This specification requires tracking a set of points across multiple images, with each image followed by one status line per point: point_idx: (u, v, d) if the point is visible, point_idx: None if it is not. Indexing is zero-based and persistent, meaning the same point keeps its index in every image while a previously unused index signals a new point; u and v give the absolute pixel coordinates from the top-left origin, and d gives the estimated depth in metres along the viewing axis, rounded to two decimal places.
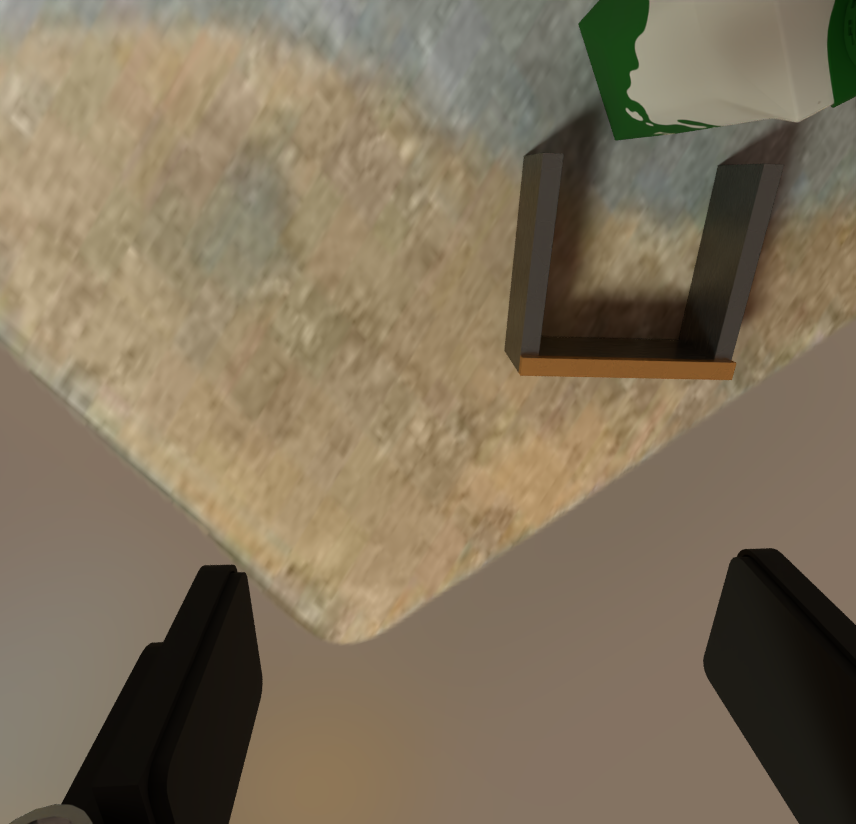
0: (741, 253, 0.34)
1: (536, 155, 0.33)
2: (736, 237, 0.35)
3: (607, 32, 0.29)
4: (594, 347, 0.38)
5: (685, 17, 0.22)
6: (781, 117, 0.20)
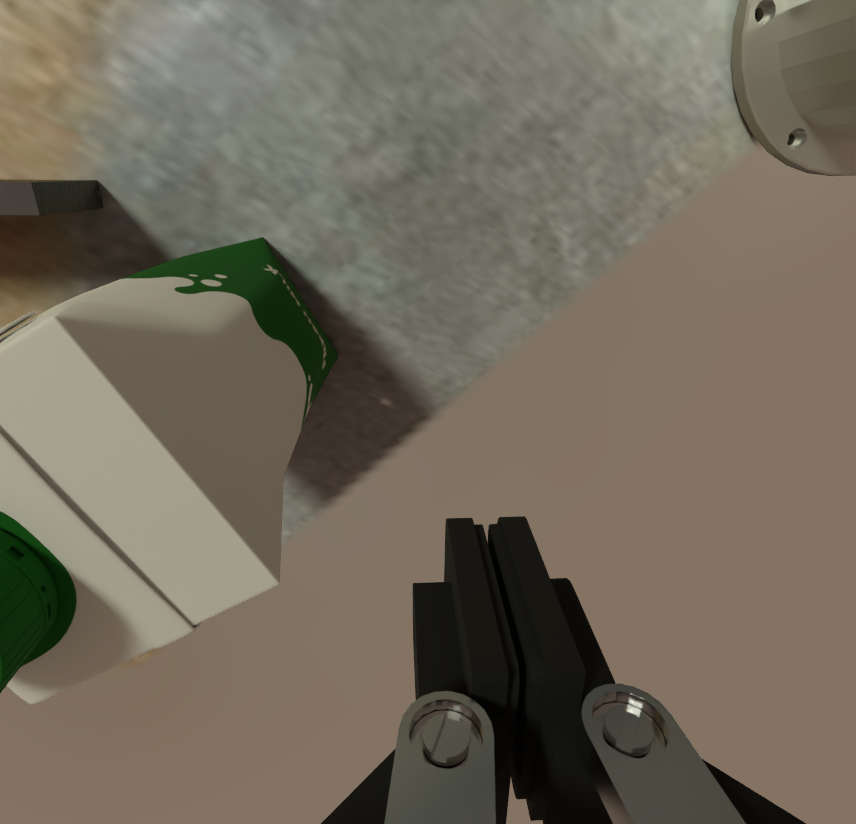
0: None
1: (52, 181, 0.22)
2: None
3: (197, 256, 0.22)
4: None
5: None
6: None
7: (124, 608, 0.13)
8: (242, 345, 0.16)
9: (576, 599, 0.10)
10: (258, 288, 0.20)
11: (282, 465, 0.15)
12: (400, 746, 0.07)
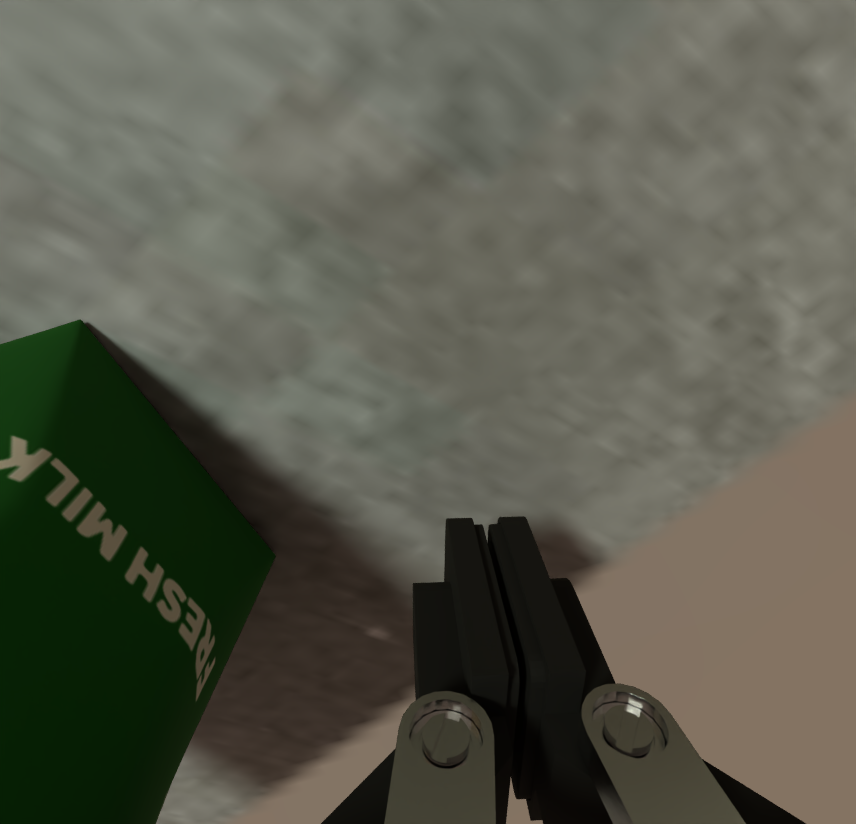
0: None
1: None
2: None
3: None
4: None
5: None
6: None
7: None
8: None
9: (576, 599, 0.10)
10: None
11: None
12: (400, 746, 0.07)
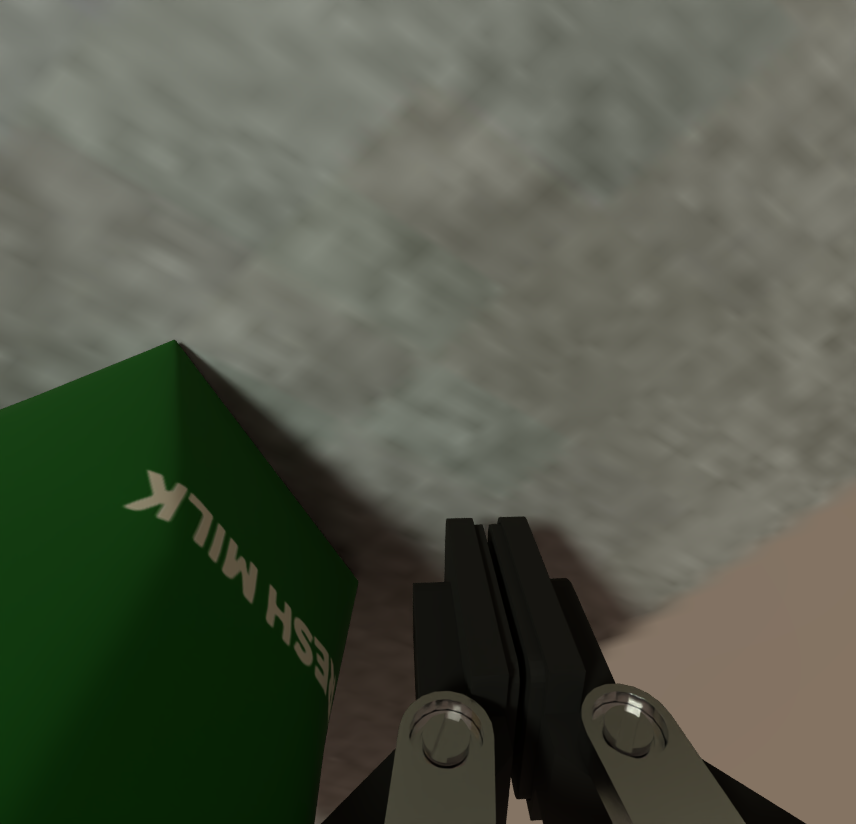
0: None
1: None
2: None
3: None
4: None
5: None
6: None
7: None
8: None
9: (576, 599, 0.10)
10: (15, 751, 0.04)
11: None
12: (400, 746, 0.07)
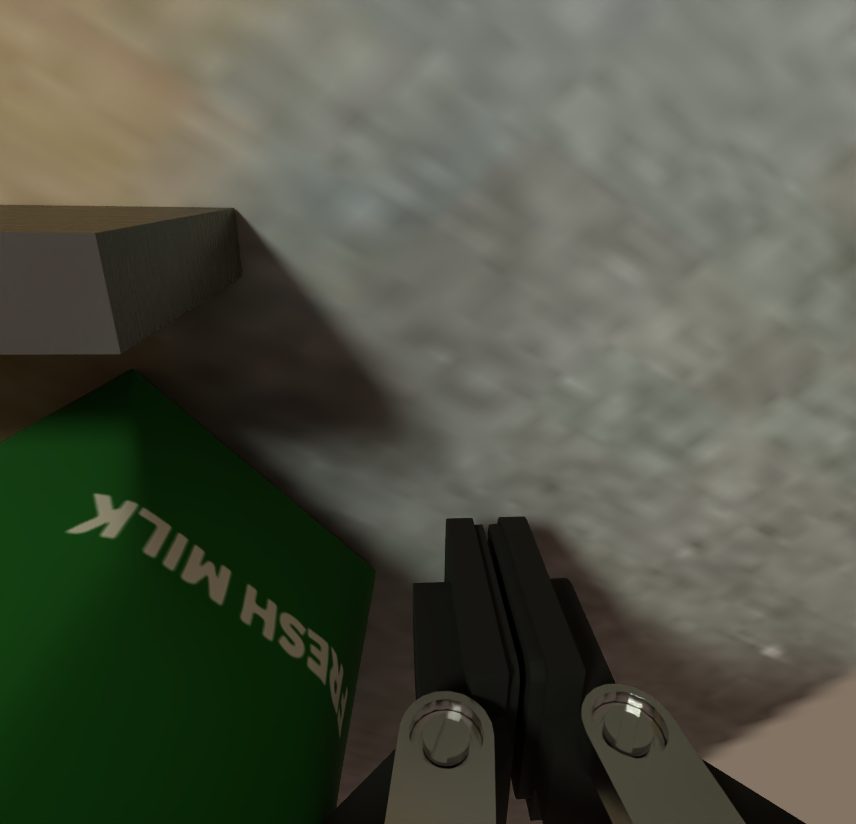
0: None
1: (151, 221, 0.07)
2: None
3: None
4: None
5: None
6: None
7: None
8: None
9: (576, 599, 0.10)
10: None
11: None
12: (400, 746, 0.07)
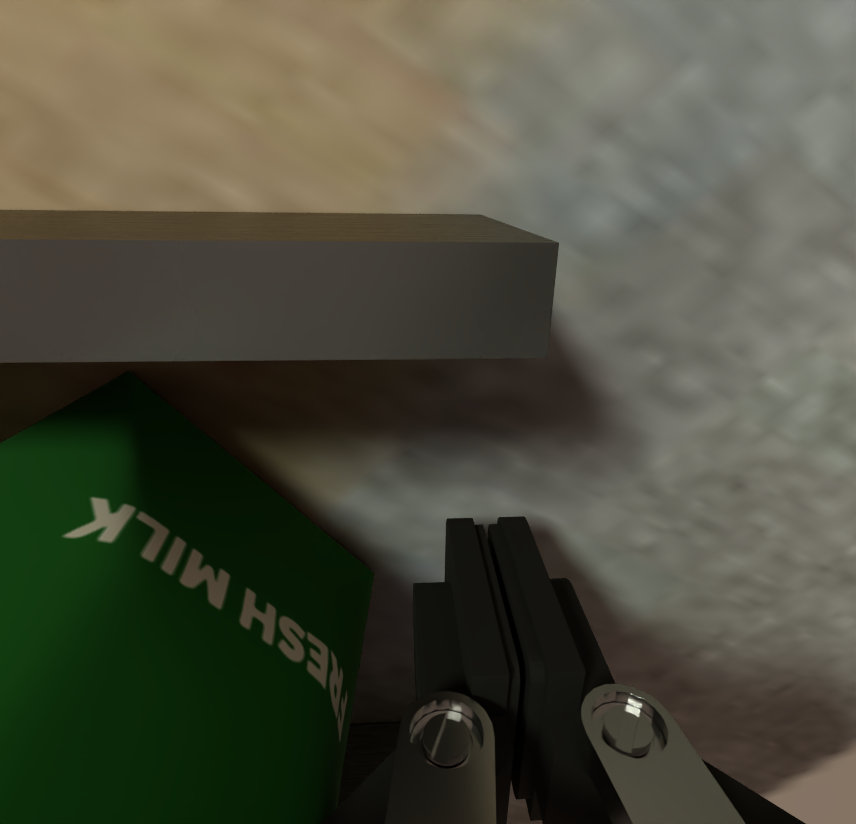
0: None
1: (516, 230, 0.07)
2: None
3: None
4: None
5: None
6: None
7: None
8: None
9: (575, 599, 0.10)
10: None
11: None
12: (401, 746, 0.07)
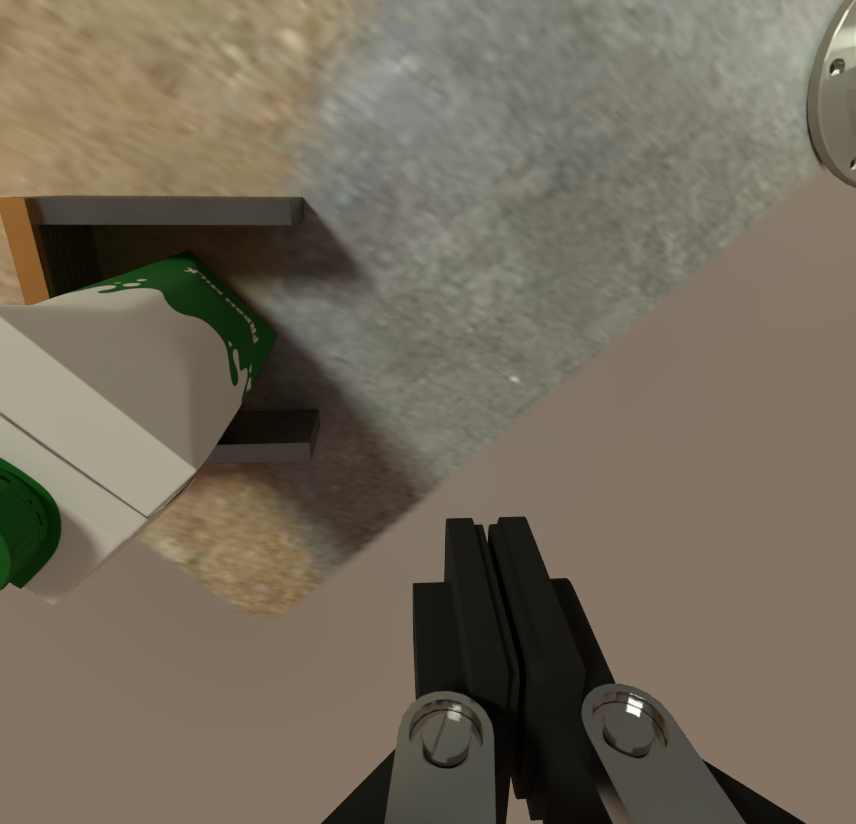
0: (219, 445, 0.31)
1: (292, 198, 0.28)
2: (239, 437, 0.32)
3: (129, 272, 0.27)
4: None
5: None
6: None
7: (93, 511, 0.18)
8: (151, 318, 0.21)
9: (576, 599, 0.10)
10: (173, 282, 0.25)
11: (196, 397, 0.20)
12: (400, 746, 0.07)
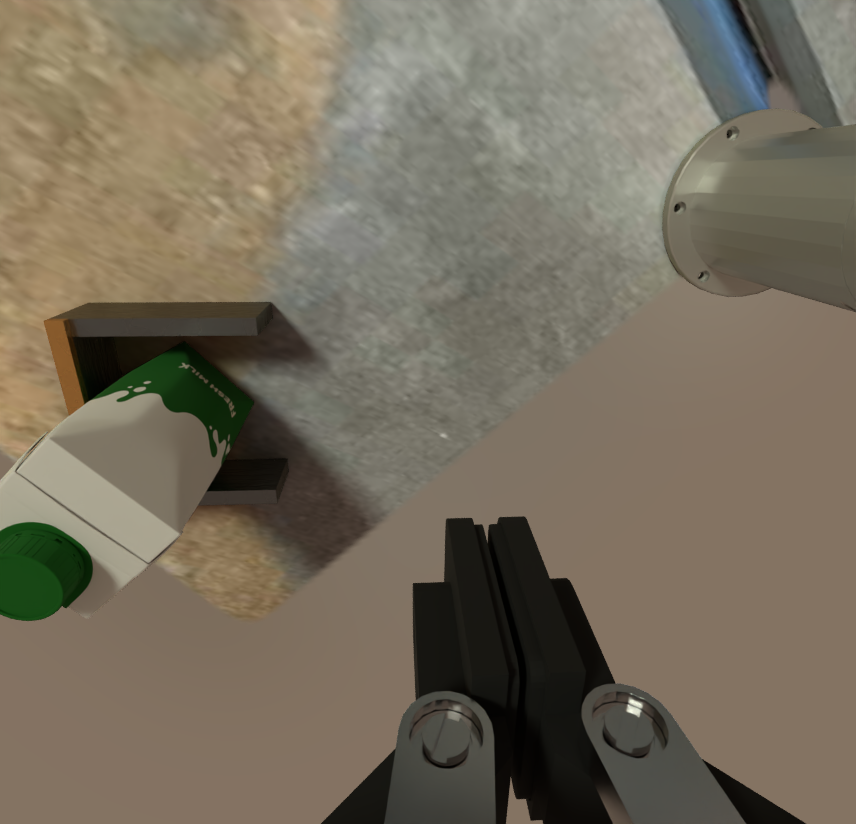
0: (207, 491, 0.41)
1: (259, 312, 0.38)
2: (222, 484, 0.42)
3: (138, 369, 0.37)
4: (104, 389, 0.40)
5: None
6: None
7: (113, 559, 0.28)
8: (152, 423, 0.31)
9: (576, 599, 0.10)
10: (170, 383, 0.35)
11: (182, 479, 0.30)
12: (400, 746, 0.07)
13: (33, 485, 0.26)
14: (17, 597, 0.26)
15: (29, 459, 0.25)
